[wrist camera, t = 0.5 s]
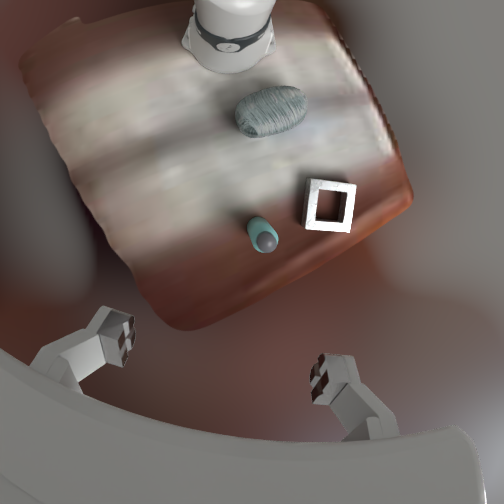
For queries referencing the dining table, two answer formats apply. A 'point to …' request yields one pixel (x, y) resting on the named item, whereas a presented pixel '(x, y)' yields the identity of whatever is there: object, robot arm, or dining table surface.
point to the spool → (271, 111)
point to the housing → (311, 204)
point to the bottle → (262, 235)
